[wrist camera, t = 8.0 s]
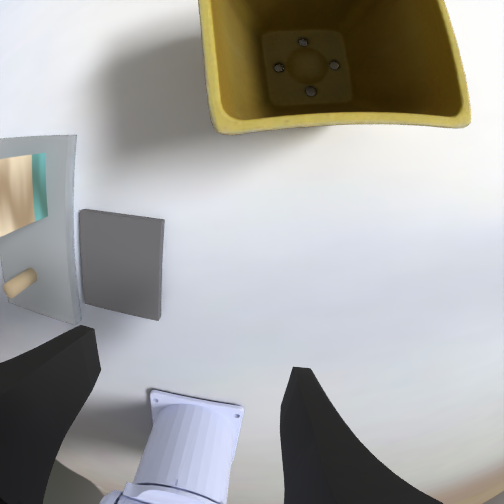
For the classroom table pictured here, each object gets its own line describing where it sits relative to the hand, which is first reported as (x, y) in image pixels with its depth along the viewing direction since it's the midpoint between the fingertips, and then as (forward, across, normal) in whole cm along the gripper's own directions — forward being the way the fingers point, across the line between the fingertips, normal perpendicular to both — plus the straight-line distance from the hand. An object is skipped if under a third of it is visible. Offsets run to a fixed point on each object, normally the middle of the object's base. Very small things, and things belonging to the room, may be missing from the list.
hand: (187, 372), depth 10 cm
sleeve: (+9, +15, -4) cm, 18 cm away
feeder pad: (+10, +7, +1) cm, 12 cm away
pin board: (+10, +15, 0) cm, 18 cm away
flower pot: (+10, -3, -13) cm, 17 cm away
